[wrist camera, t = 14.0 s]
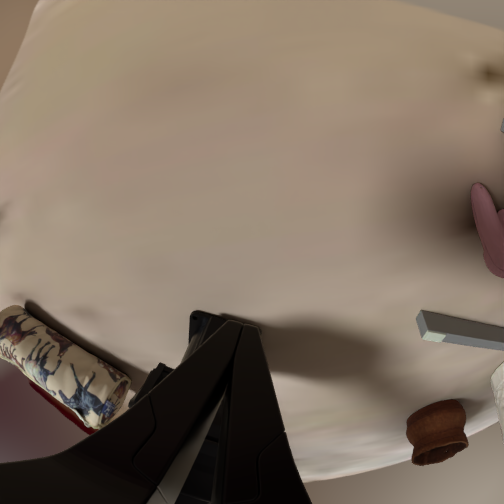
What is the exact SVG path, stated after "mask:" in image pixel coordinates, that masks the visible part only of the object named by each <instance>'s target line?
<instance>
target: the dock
mask: <svg viewBox="0 0 504 504" xmlns="http://www.w3.org/2000/svg"><path fill="white" fill-rule="evenodd" d="M501 131H502V132H503V133H504V119H503V123H502V127H501ZM416 321H417V324H418V327H419V330H420V334H421V337H422V339H423V340H428V341H434V342H440V343H441V342H447V343H453V344H460V345H466V346H473V347H480V348H487V349H494V350H502V351H504V328H501V327H497V326H492V325H487V324H482V323H478V322H473V321H468V320H464V319H459V318H454V317H450V316H445V315H441V314H436V313H432V312H427V311H423V310H421V311H420V313H419V314H418V316H417V317H416Z"/></svg>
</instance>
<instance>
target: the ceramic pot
mask: <svg viewBox="0 0 504 504" xmlns="http://www.w3.org/2000/svg"><path fill="white" fill-rule="evenodd" d="M465 423H466V412H465V410H464V408H463V406H462V405H461V404H460V403H459V402H458V401H457V400H453V399H450V400H444V401H439V402H436V403H433V404H430V405H428V406H426V407H424V408H422V409H420V410H418V411H416V412H415V413H413V414H412V415H411V416H410V417H409V418H408V420H407V431H406V435H407V438H408V440H409V442H410V443H411V444H412V445H413V446H414V449H413V454H412V463H413V464H415V465H419V466H424V465H429V464H434V463H440V462H443V461H445V460H446V459H448V458H450V457H453V456H454V455H455V454H456V453H457V452H460V451H462V450H463V449H465V448H467V447H468V440H467V437H466V434H465V433H464V426H465ZM446 451H447V452H446Z"/></svg>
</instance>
